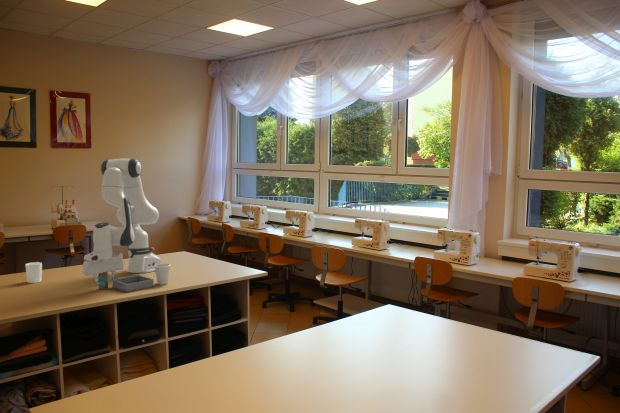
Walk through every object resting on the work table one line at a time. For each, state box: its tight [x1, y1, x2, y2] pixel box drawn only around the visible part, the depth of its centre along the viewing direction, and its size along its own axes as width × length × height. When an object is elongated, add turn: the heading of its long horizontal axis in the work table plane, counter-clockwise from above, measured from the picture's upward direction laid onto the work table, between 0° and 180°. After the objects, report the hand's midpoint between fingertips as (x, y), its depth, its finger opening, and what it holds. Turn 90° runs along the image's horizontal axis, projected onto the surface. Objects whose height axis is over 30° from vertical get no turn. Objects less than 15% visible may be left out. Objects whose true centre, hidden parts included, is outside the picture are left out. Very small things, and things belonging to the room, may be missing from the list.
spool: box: [97, 272, 109, 291], centre depth 257 cm, size 4×4×9 cm
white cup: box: [24, 261, 43, 284], centre depth 272 cm, size 8×8×10 cm
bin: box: [111, 274, 154, 293], centre depth 261 cm, size 15×15×4 cm
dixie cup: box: [154, 263, 171, 285], centre depth 269 cm, size 8×8×10 cm
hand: (104, 281), depth 258 cm, fingers open, 6 cm apart
